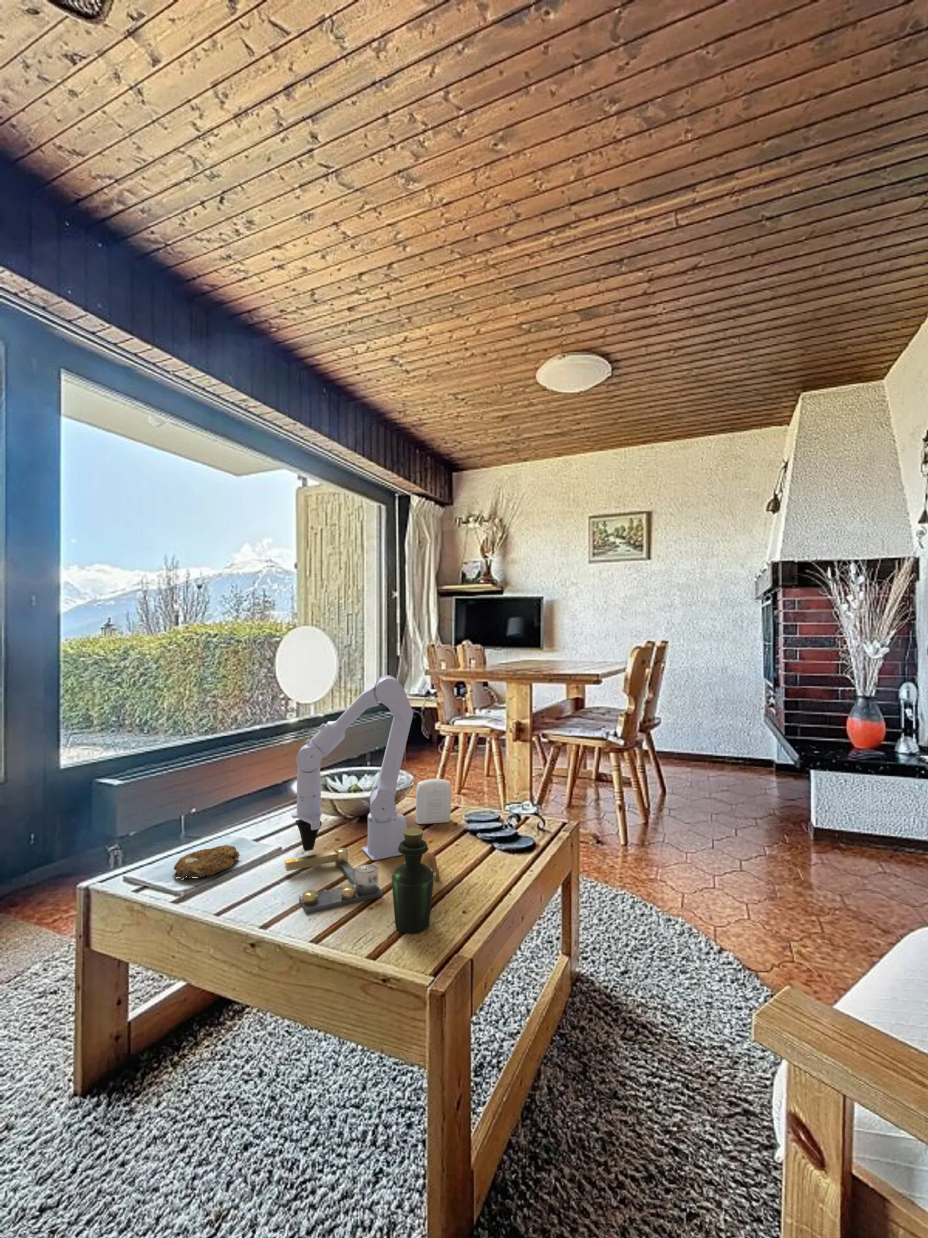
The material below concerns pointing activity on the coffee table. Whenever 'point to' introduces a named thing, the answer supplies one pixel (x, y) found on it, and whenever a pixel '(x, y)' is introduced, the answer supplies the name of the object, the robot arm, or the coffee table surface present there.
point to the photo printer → (433, 801)
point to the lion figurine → (430, 863)
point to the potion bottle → (412, 885)
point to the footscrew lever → (317, 859)
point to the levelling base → (335, 894)
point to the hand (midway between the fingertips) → (308, 849)
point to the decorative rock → (206, 861)
